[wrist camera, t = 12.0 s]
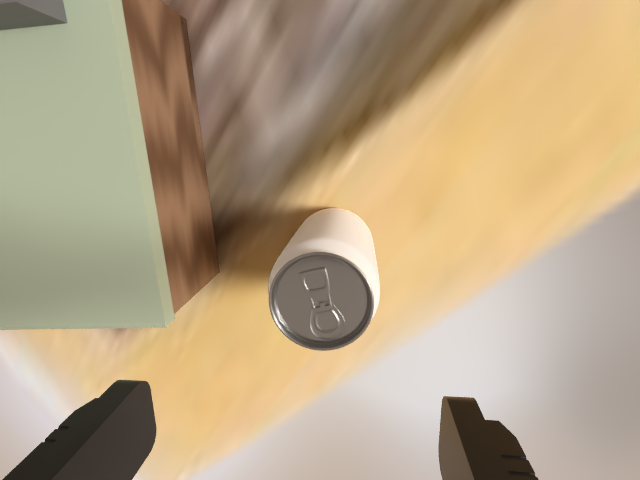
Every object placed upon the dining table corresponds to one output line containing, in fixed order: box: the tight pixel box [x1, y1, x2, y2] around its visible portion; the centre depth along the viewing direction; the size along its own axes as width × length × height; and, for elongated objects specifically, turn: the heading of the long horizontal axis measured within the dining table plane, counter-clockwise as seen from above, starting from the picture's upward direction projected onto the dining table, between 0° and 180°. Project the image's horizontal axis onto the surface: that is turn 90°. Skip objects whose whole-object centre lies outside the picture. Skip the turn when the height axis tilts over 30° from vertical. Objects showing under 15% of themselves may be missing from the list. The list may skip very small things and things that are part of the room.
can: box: [268, 208, 380, 351], centre depth 26 cm, size 6×6×12 cm
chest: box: [122, 0, 219, 314], centre depth 27 cm, size 20×14×9 cm
